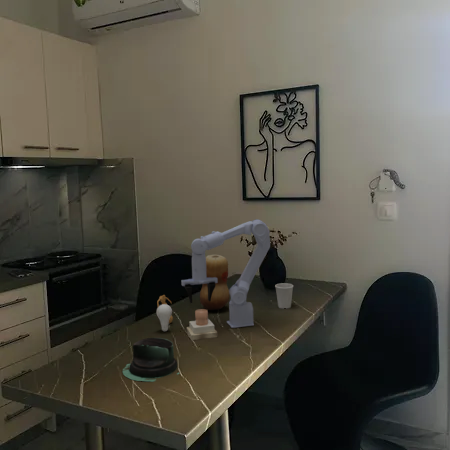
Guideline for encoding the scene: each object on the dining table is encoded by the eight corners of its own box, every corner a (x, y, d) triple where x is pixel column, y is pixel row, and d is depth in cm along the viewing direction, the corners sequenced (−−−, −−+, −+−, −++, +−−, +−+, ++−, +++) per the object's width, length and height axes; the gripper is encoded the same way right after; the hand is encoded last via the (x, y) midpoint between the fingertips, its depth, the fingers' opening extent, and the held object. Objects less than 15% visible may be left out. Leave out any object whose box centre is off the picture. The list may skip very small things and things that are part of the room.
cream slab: (209, 325, 189) (208, 319, 189) (214, 331, 181) (214, 325, 181) (189, 327, 187) (189, 321, 186) (194, 334, 179) (193, 327, 179)
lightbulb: (175, 329, 190) (174, 302, 189) (168, 334, 184) (167, 307, 183) (161, 328, 192) (160, 301, 191) (154, 333, 186) (153, 306, 185)
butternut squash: (220, 315, 206) (218, 259, 203) (194, 311, 213) (192, 257, 210) (235, 307, 218) (234, 253, 215) (210, 303, 225) (209, 251, 221)
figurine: (165, 327, 193) (163, 298, 192) (154, 324, 197) (152, 296, 195) (178, 321, 200) (177, 293, 199) (167, 318, 204) (166, 291, 202)
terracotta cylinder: (206, 320, 186) (205, 308, 186) (209, 324, 182) (208, 311, 181) (194, 322, 185) (193, 310, 184) (197, 326, 180) (196, 313, 180)
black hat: (190, 357, 162) (189, 331, 161) (174, 384, 143) (173, 354, 142) (135, 355, 165) (134, 330, 164) (113, 381, 146) (111, 352, 145)
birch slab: (211, 330, 190) (210, 324, 190) (217, 338, 181) (217, 332, 180) (186, 333, 188) (186, 327, 187) (191, 341, 178) (191, 335, 178)
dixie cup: (294, 309, 212) (294, 287, 211) (276, 309, 213) (275, 287, 211) (292, 303, 221) (292, 282, 219) (274, 304, 221) (274, 283, 220)
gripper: (183, 272, 185) (184, 305, 186) (219, 269, 188) (219, 302, 190) (180, 268, 191) (181, 301, 193) (214, 265, 195) (215, 297, 197)
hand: (200, 301), depth 192 cm, fingers open, 7 cm apart
